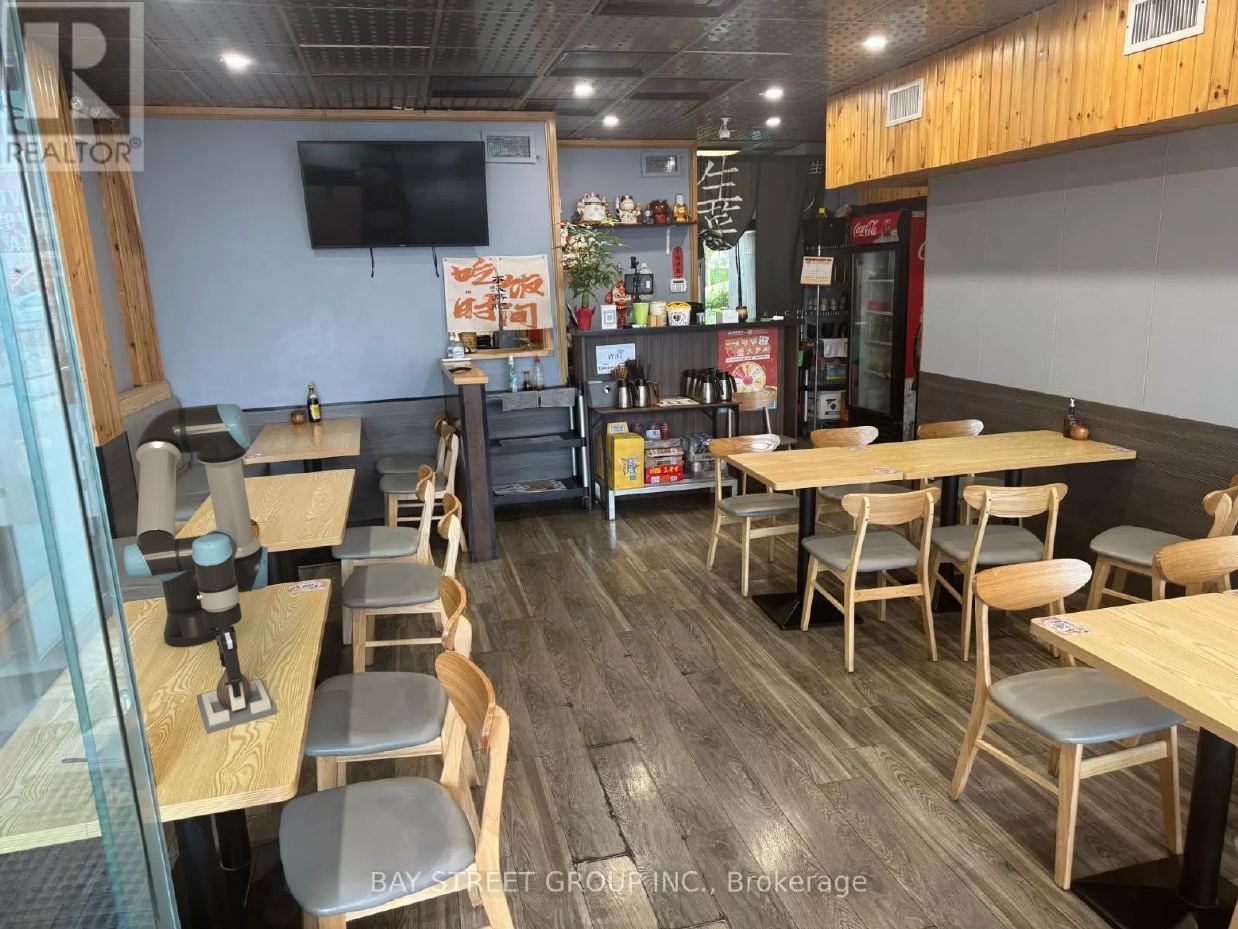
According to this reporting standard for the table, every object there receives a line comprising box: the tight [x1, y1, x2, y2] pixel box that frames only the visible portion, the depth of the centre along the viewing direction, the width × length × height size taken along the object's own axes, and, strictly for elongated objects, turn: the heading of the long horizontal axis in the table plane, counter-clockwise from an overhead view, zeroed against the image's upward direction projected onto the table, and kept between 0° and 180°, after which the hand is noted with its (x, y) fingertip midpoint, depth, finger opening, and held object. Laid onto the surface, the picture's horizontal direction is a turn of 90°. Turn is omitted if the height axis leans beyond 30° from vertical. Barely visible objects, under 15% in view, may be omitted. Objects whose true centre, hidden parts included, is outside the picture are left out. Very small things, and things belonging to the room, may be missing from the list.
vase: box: [216, 669, 251, 709], centre depth 186 cm, size 7×7×9 cm
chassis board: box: [196, 677, 277, 735], centre depth 188 cm, size 18×14×3 cm
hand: (235, 700), depth 187 cm, fingers open, 8 cm apart
